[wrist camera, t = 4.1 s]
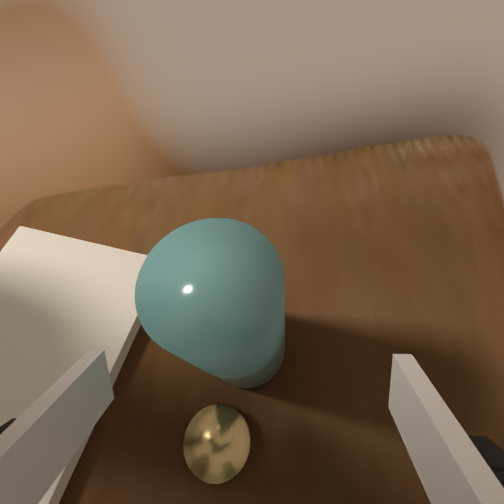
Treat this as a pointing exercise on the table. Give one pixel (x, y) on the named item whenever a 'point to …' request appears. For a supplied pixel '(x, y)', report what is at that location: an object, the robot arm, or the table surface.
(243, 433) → the beige mottled disc
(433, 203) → the table surface
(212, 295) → the teal canister
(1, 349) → the pale board
